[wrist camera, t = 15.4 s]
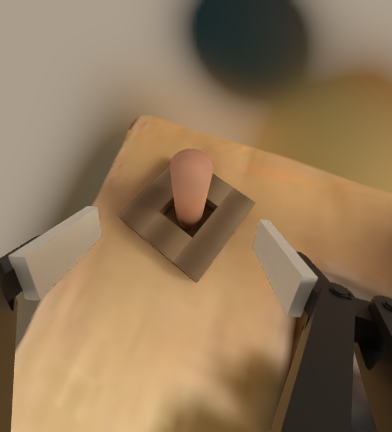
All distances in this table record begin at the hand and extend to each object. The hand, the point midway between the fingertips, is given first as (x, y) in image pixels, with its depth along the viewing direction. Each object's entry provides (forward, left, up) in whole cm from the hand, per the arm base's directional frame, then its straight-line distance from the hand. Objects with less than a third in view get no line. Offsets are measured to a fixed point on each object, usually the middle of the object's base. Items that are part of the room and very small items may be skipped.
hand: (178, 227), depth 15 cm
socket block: (+3, -5, -12) cm, 14 cm away
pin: (+3, -5, -12) cm, 14 cm away
